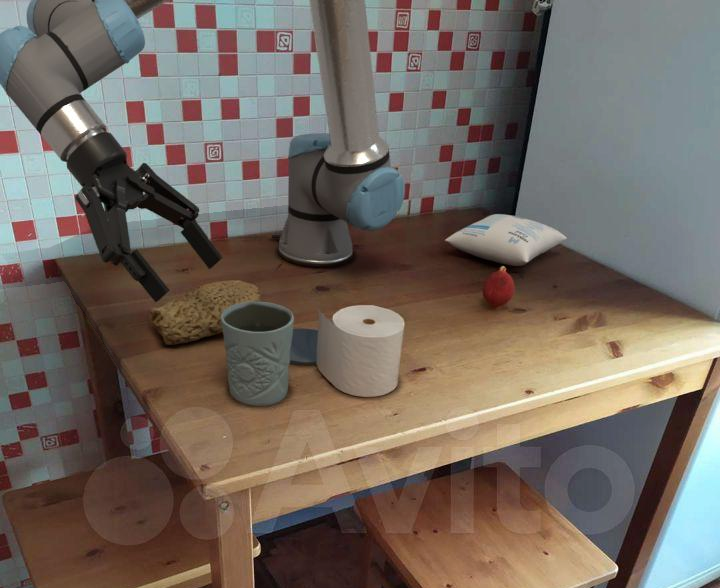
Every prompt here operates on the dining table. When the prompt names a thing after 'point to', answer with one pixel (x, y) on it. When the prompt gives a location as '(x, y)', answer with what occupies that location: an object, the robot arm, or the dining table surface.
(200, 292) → the sponge
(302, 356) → the coaster
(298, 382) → the dining table surface
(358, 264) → the dining table surface
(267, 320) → the embossed green cup
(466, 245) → the pouch
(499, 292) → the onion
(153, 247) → the dining table surface
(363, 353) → the toilet tissue
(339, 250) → the robot arm
